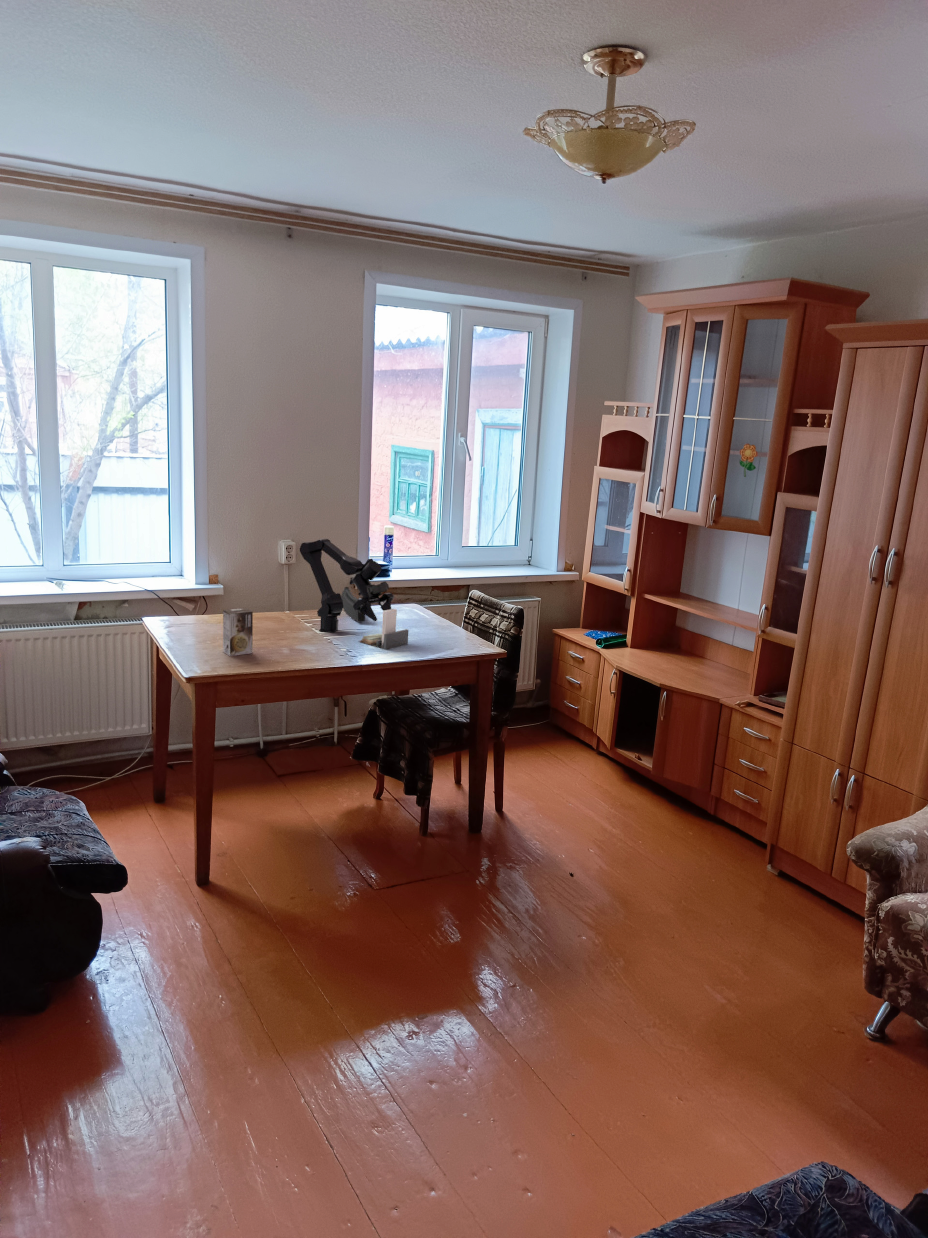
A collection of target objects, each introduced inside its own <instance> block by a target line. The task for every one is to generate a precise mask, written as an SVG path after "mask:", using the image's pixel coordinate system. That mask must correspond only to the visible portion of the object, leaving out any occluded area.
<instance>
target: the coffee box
mask: <svg viewBox="0 0 928 1238" xmlns="http://www.w3.org/2000/svg"><path fill="white" fill-rule="evenodd" d="M253 613H254V611H253V610H251V609H249V608H247V607H243V608H242V607H240V608H232V609H231V608H230V609H223V611H222V615H223V616H222V620H223V621H222V628H223V629H222V636H223V637H222V652H223V653H224V654H226V655H227V656H229V657H232V656H241V655H247V654H253V644H254V643H253V640H254V639H253V628H254V627H253V625H254V624H253V622H254V621H253V617H254V614H253Z"/></svg>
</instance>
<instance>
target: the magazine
mask: <svg viewBox="0 0 928 1238" xmlns="http://www.w3.org/2000/svg"><path fill="white" fill-rule="evenodd" d="M340 595H341V599H342V600H343V609H342V610H343V611H344V612H345V613H346V615H347V616H348V617H349V618H350V617H351V618H350V619H351V620H353V619H354V620H353V621H356V622H359V623H363V622H365V621H366V615H364V614H362V613H361V612H358V611H355V610H354V608H353V604H354V603H355V602H356V601H357V600H358V599H359V598H357V597H355V596H354V594H353V593H352V592H351V590H350V587H348V586H345V587H344V589H343V590H342V593H341V594H340Z"/></svg>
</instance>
